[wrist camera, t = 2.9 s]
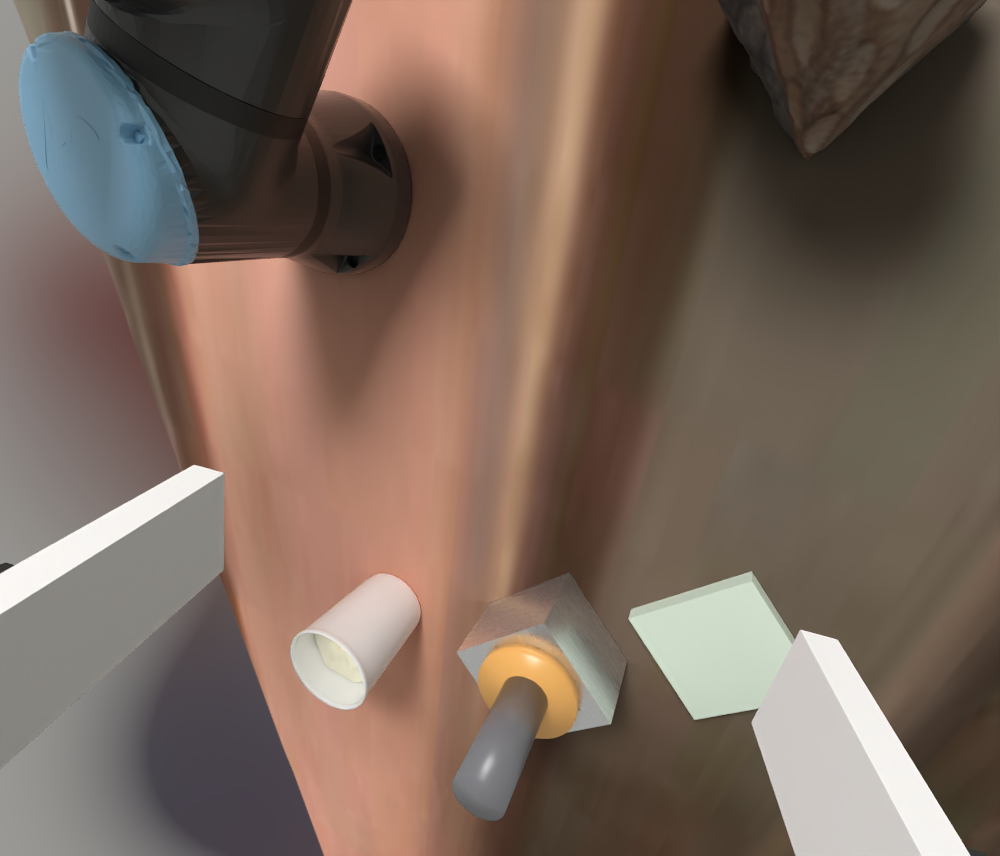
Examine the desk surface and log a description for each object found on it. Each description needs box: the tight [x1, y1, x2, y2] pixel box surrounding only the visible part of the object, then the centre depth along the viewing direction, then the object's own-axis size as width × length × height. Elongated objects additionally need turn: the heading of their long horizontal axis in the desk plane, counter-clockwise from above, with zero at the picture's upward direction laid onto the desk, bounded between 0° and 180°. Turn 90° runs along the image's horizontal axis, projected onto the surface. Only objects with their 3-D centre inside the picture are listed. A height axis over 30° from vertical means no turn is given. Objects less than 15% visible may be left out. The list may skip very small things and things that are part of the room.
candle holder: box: [290, 573, 421, 710], centre depth 59 cm, size 10×10×12 cm
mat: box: [629, 571, 795, 720], centre depth 48 cm, size 12×12×2 cm
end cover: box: [452, 643, 580, 821], centre depth 46 cm, size 10×10×17 cm
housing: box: [457, 572, 627, 739], centre depth 52 cm, size 11×11×8 cm
